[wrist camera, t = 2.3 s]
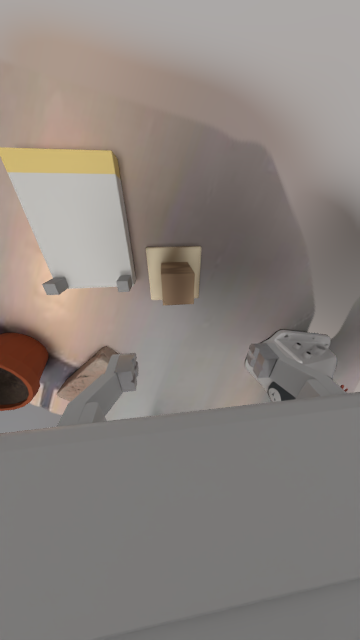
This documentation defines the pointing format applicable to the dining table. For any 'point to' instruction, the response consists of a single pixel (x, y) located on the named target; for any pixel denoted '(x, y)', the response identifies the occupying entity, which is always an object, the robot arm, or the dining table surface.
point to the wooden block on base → (174, 273)
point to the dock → (75, 215)
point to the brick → (86, 374)
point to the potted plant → (20, 369)
